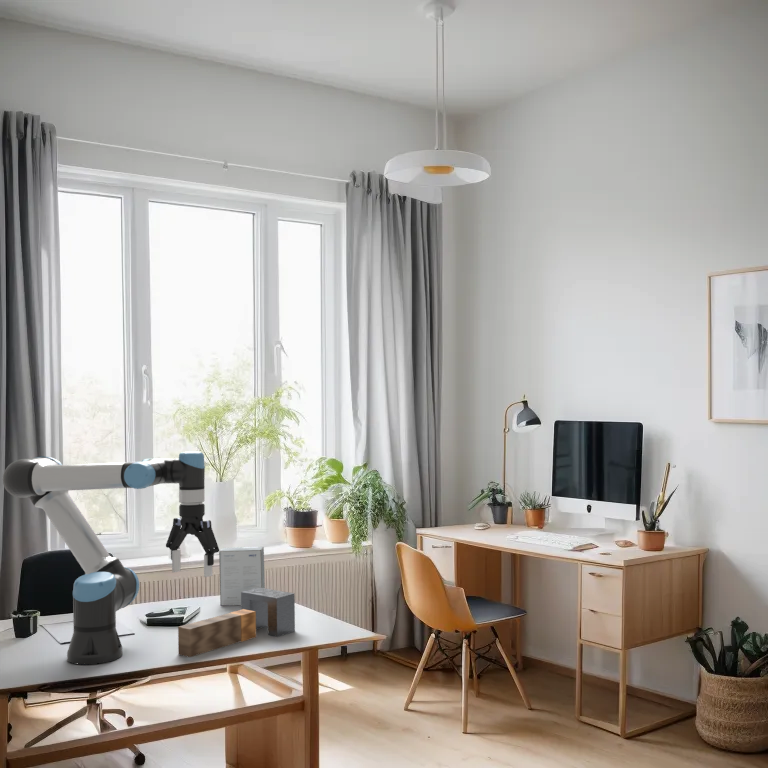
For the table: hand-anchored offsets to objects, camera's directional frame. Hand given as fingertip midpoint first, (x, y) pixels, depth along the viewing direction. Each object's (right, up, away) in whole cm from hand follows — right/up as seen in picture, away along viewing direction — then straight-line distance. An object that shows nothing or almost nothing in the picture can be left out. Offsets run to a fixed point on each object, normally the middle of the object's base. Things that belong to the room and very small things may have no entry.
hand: (192, 574), depth 262 cm
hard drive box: (+6, -23, +55) cm, 60 cm away
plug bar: (+8, -22, 0) cm, 23 cm away
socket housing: (+21, -22, +17) cm, 34 cm away
